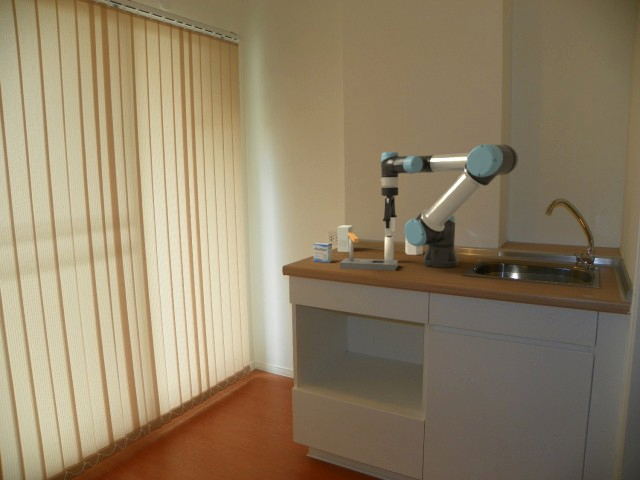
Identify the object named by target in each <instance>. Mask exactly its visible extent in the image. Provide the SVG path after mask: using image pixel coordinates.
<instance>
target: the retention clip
mask: <svg viewBox="0 0 640 480" xmlns="http://www.w3.org/2000/svg"><path fill="white" fill-rule="evenodd" d="M348 237H350V238H351V239H352V241H353V244H354V243H359V237H358V236H356V234H355V232H353V233H348Z"/></svg>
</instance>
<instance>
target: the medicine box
mask: <svg viewBox="0 0 640 480" xmlns="http://www.w3.org/2000/svg"><path fill="white" fill-rule="evenodd" d="M312 247H313V262H314V263H325V264H326V263H327V264H329V263H331V262H333V243H329V242H328V243H326V242H315V243H313V246H312Z"/></svg>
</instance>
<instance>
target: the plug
mask: <svg viewBox="0 0 640 480" xmlns="http://www.w3.org/2000/svg"><path fill="white" fill-rule="evenodd" d="M394 254H395V236H392V235H391V236H384V260H395V258H394V256H395V255H394Z"/></svg>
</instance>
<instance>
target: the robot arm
mask: <svg viewBox="0 0 640 480" xmlns="http://www.w3.org/2000/svg"><path fill="white" fill-rule="evenodd" d="M380 160H381V161H380V167H381V169H380V170H381V171H380V172H381V178H380V180H379V181H380V182H381V191H380V192H381V196H383V197H386V198H384V211H383V212H384V216H383V218H382V221H383V222H384V237H387V236H391V237H392V232H393V233H394V232H395V233H396V218H397V214H396V204H395V201H396V200H395V197H396V196H399V187H398V186H399V174H419V173H420V174H421V173H423V174H424V173H430V174H431V173H448V172H461V174H460V175H459V176H458V177H457V178H456V180H455V181H454V182H453V183H452V184H451V185H450V186H449V187H448V188H447V189H446V190H445V191H444V193H443V194H442V195H440V197H439V198H438V199H437V200H436V201H435V202H434V204H432V205H431V206H430V207H429V209H423V210H422V211H421V212H420V213H419V214H418V215H417V216H416V218H411V219H409V220H407V222H406V223H405V225H404V228H403V229H404V236H405V237H406V239H407V241H408V242H409V243H410V244H411V245H413V246H423V247H424V246H426V245H427V248H426V250H425V254H424V256H423V260H422V261H423V265H425V266H426V267H431V268H442V269H443V268H445V269H446V268H454V267H457V266H459V265H458V264H459V259H458V255H457V251H456V250H455V238H456V237H455V236H456V233H455V232H456V217H455V216H454V214H455V213H456V212H458V210H459V209H460V208H461V207H462V206H463V205H464V204H465V203H466V202H467V201H468V200H469V199H470V198H471V197H472V196H473V195H474V194H475V193H476V192H477V191H478V190H479V189H480V188H481V187H482V186H484V187H486V186H488V185H489V184H490V183H492V181H493V180H494V179H495V178H496V177H497V176H505V175H508V174H511V173H512V172H513V171H514V170H515V169H516V168H517V166H518V163H519V155H518V152H517V151H516V149H515V148H513V147H512V146H510V145H507V144H492V143H484V144H480V145H477V146H475V147H474V148H473V149H471V151H469V152H459V153H447V154H446V153H444V154H443V153H442V154H431V155H413V154H412V155H401V156H399V152H398V151H390V152H389V151H386V152H385V151H384V152H382V153H381V158H380Z"/></svg>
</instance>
